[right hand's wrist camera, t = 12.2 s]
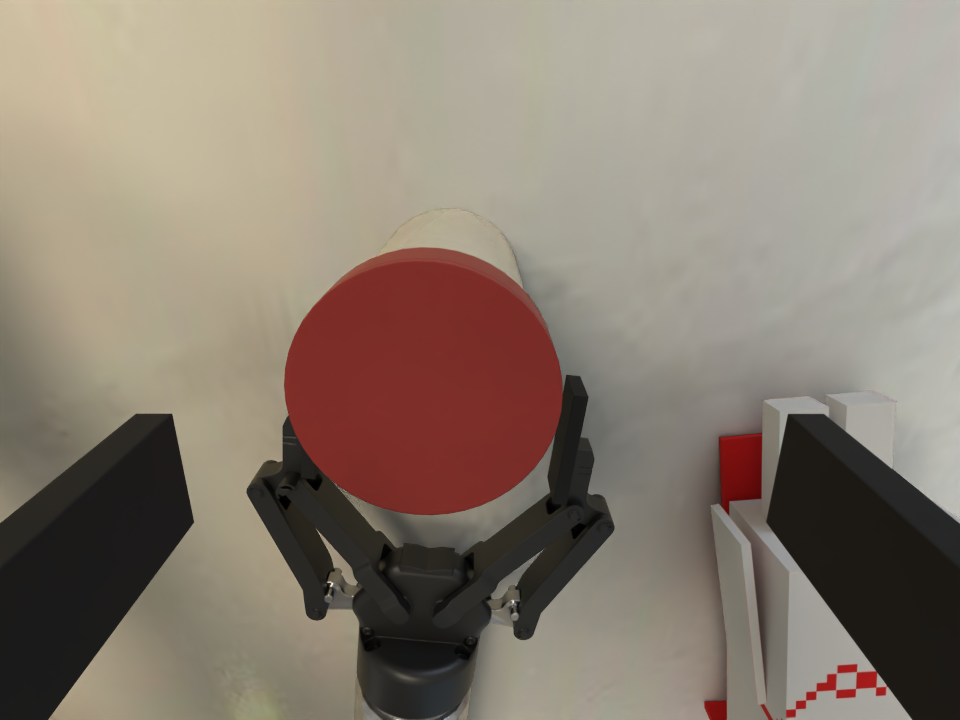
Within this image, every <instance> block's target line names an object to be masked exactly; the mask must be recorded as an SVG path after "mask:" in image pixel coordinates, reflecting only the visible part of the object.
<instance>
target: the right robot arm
mask: <svg viewBox="0 0 960 720" xmlns="http://www.w3.org/2000/svg"><path fill="white" fill-rule="evenodd" d="M193 523H194V520H193V515H192V510H191V505H190V500H189V495H188V490H187V485H186V480H185V475H184V470H183V465H182V460H181V455H180V451H179V446H178V441H177V436H176V431H175V426H174V421H173V416H172V414H135V415H134V416H133V417H132V418H130V419H129V420H128V421H127V422H125V423H124V424H123V425H122V426H120V427H119V428H118V429H117V430H115V431H114V432H113V433H112V434H110V435H109V436H108V437H107V438H106V439H104V440H103V441H102V442H101V443H99V444H98V445H97V446H96V447H94V448H93V449H92V450H91V451H89V452H88V453H87V454H86V455H84V456H83V457H82V458H81V459H79V460H78V461H77V462H76V463H75V464H73V465H72V466H71V467H70V468H68V469H67V470H66V471H65V472H63V473H62V474H61V475H60V476H58V477H57V478H56V479H55V480H53V481H52V482H51V483H50V484H49V485H47V486H46V487H45V488H44V489H42V490H41V491H40V492H39V493H37V494H36V495H35V496H34V497H32V498H31V499H30V500H29V501H27V502H26V503H25V504H24V505H22V506H21V507H20V508H19V509H18V510H16V511H15V512H14V513H13V514H11V515H10V516H9V517H8V518H6V519H5V520H4V521H3V522H1V523H0V720H48V719H49V718H50V716H51V715H52V713H53V712H54V711H55V709H56V708H57V707H58V705H59V704H60V703H61V701H62V700H63V699H64V697H65V696H66V695H67V693H68V692H69V691H70V689H71V688H72V686H73V685H74V684H75V682H76V681H77V680H78V678H79V677H80V676H81V674H82V673H83V672H84V670H85V669H86V668H87V666H88V665H89V664H90V662H91V661H92V659H93V658H94V657H95V655H96V654H97V653H98V651H99V650H100V649H101V647H102V646H103V645H104V643H105V642H106V641H107V639H108V638H109V637H110V635H111V634H112V632H113V631H114V630H115V628H116V627H117V626H118V624H119V623H120V622H121V620H122V619H123V618H124V616H125V615H126V614H127V612H128V611H129V610H130V608H131V607H132V605H133V604H134V603H135V601H136V600H137V599H138V597H139V596H140V595H141V593H142V592H143V591H144V589H145V588H146V587H147V585H148V584H149V583H150V581H151V580H152V578H153V577H154V576H155V574H156V573H157V572H158V570H159V569H160V568H161V566H162V565H163V564H164V562H165V561H166V560H167V558H168V557H169V555H170V554H171V553H172V551H173V550H174V549H175V547H176V546H177V545H178V543H179V542H180V541H181V539H182V538H183V537H184V535H185V534H186V533H187V531H188V530H189V528H190V527H191V526H192V524H193ZM766 523H767V524H768V526H769V527H770V528H771V530H772V531H773V533H774V534H775V535H776V537H777V538H778V539H779V541H780V542H781V543H782V545H783V546H784V547H785V549H786V550H787V551H788V553H789V554H790V556H791V557H792V558H793V560H794V561H795V562H796V564H797V565H798V566H799V568H800V569H801V570H802V572H803V573H804V574H805V576H806V577H807V578H808V580H809V581H810V583H811V584H812V585H813V587H814V588H815V589H816V591H817V592H818V593H819V595H820V596H821V597H822V599H823V600H824V601H825V603H826V604H827V605H828V607H829V608H830V610H831V611H832V612H833V614H834V615H835V616H836V618H837V619H838V620H839V622H840V623H841V624H842V626H843V627H844V628H845V630H846V631H847V632H848V634H849V635H850V637H851V638H852V639H853V641H854V642H855V643H856V645H857V646H858V647H859V649H860V650H861V651H862V653H863V654H864V655H865V657H866V658H867V659H868V661H869V662H870V664H871V665H872V666H873V668H874V669H875V670H876V672H877V673H878V674H879V676H880V677H881V678H882V680H883V681H884V682H885V684H886V685H887V686H888V688H889V689H890V691H891V692H892V693H893V695H894V696H895V697H896V699H897V700H898V701H899V703H900V704H901V705H902V707H903V708H904V709H905V711H906V712H907V713H908V715H909V716H910V718H911V719H912V720H960V523H959V522H957V521H956V520H955V519H954V518H952V517H951V516H950V515H949V514H947V513H946V512H945V511H944V510H942V509H941V508H940V507H939V506H938V505H936V504H935V503H934V502H933V501H931V500H930V499H929V498H928V497H926V496H925V495H924V494H923V493H921V492H920V491H919V490H918V489H916V488H915V487H914V486H913V485H911V484H910V483H909V482H908V481H907V480H905V479H904V478H903V477H902V476H900V475H899V474H898V473H897V472H895V471H894V470H893V469H892V468H890V467H889V466H888V465H887V464H885V463H884V462H883V461H882V460H881V459H879V458H878V457H877V456H876V455H874V454H873V453H872V452H871V451H869V450H868V449H867V448H866V447H864V446H863V445H862V444H861V443H859V442H858V441H857V440H856V439H854V438H853V437H852V436H851V435H850V434H848V433H847V432H846V431H845V430H843V429H842V428H841V427H840V426H838V425H837V424H836V423H835V422H833V421H832V420H831V419H830V418H828V417H827V416H826V415H825V414H788V416H787V421H786V426H785V431H784V436H783V441H782V446H781V451H780V455H779V460H778V465H777V470H776V475H775V480H774V485H773V490H772V495H771V500H770V505H769V510H768V515H767V520H766Z"/></svg>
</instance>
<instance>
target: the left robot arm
mask: <svg viewBox="0 0 960 720" xmlns="http://www.w3.org/2000/svg"><path fill="white" fill-rule="evenodd" d="M587 402H588V395H587V392H586V390H585V387H584V385H583V382H582V380H581V377H580V376H572V375H566V380H565V386H564V391H563V398H562V408H561V414H560V418H559V422H558V427H557V429H556V434H555V439H554V445H553V450H552V455H551V461H550V466H549V471H548V482H549V487H550V493H549V494H547V495H546V496H545V497H543V498H542V499H541V500H540V501H538V502H537V503H536V504H534V505H533V506H532V507H530V508H529V509H528V510H526V511H525V512H524V513H522V514H521V515H520V516H519V517H517V518H516V519H515V520H513V521H512V522H511V523H509V524H508V525H507V526H505V527H504V528H503V529H501V530H500V531H499V532H498V533H496V534H495V535H494V536H492V537H491V538H490V539H488V540H487V541H486V542H482V541H479V542H478V543H476V544H475V545H474V546H472V547H471V548H470V549H468V550H467V551H466V552H464V553H463V554H462V555H460V554H458V553H455V552H454V550H455V548H447V547H438V548H426V547H423V546H420V545H417V544H407V543H404V546H403V547H401V548H397V549H396V548H395V547H394V545H393V544H392V543H391V542H390V541H389V540H388V539H387V537H386V536H385V535H384V534H383V533H382V532H381V531H375V530H374V529H373V528H372V527H371V526H370V524H369V523H368V522H367V521H366V520H365V519H364V518H363V516H362V515H361V514H360V513H359V512H358V511H357V510H356V508H355V507H354V506H353V505H352V504H351V503H350V502H349V500H348V499H347V498H346V497H345V496H344V495H343V493H342V492H341V491H340V490H339V489H338V488H337V487H336V485H335V484H334V483H333V482H332V481H331V480H330V479H329V477H327V476H326V475H325V474H324V473H323V472H322V471H321V470H320V469H319V468H318V467H317V465H316V464H315V463H314V462H313V461H312V460H311V458H310V457H309V455H308V454H307V453H306V451H305V450H304V448H303V447H302V445H301V443H300V441H299V439H298V437H297V436H296V434H295V431H294V428H293V426H292V423H291V421H290V418H289V415H288V417H287V418H286V420H285V423H284V425H283V461H282V462H276V461H273V460H269V461H266V462H264V464H263V465H262V467H261V468H260V469H259V471H258V473H257V474H256V476H255V477H254V479H253V480H252V482H251V483H250V485H249V486H248V488H247V495H248V497H249V499H250V500H251V502H252V504H253V506H254V507H255V509H256V511H257V512H258V514H259V516H260V518H261V519H262V521H263V523H264V524H265V526H266V528H267V529H268V531H269V533H270V535H271V536H272V538H273V540H274V541H275V543H276V545H277V547H278V548H279V550H280V552H281V553H282V555H283V557H284V559H285V560H286V562H287V564H288V565H289V567H290V569H291V571H292V572H293V574H294V576H295V577H296V579H297V581H298V582H299V584H300V586H301V588H302V589H303V594H304V602H305V610H306V614H307V616H308V617H309V618H310V619H312V620H322V619H323V618H324V617H325V616H326V613H327V610H328V609H353V611H354V613H355V615H356V616H357V618H358V621H359V639H358V656H357V678H356V687H355V711H354V720H467V715H468V708H469V702H470V695H471V687H472V681H473V676H474V670H475V663H476V657H477V651H478V644H479V638H480V634H481V632H482V630H483V629H484V628H485V627H486V626H487V625H488V624H489V623H495V624H500V625H506V626H511V627H513V629H514V635H515V637H516V638H518V639H520V640H527V639H529V638H531V637H532V636H533V634H534V631H535V628H536V625H537V622H538V620H539V617H540V614H541V612H542V611H543V610H544V609H545V608H546V607H547V606H548V605H549V603H550V602H551V601H552V600H553V599H554V598H555V597H556V596H557V594H558V593H559V592H560V591H561V590H562V589H563V588H564V587H565V585H566V584H567V583H568V582H569V581H570V580H571V579H572V578H573V576H574V575H575V574H576V573H577V572H578V571H579V570H580V569H581V568H582V566H583V565H584V564H585V563H586V562H587V561H588V560H589V559H590V557H591V556H592V555H593V554H594V553H595V552H596V551H597V550H598V548H599V547H600V546H601V545H602V544H603V543H604V542H605V541H606V539H607V538H608V537H609V536H610V535H611V534H612V533H613V531H614V523H613V520H612V517H611V514H610V512H609V509H608V506H607V503H606V500H605V498H604V497H603V496H602V495H599V494H594V495H590V494H588V493H587V491H588V487H589V482H590V477H591V473H592V468H593V463H594V456H593V451H592V448H591V446H590V443H589V440H588V438H580V436H581V431H582V426H583V421H584V416H585V412H586V407H587ZM316 529H317V530H318V531H319V532H320V533H321V534H322V535H323V536H324V537H325V538H326V540H327V541H328V542H329V543H330V544H331V545H332V546H333V547H334V548H335V549H336V551H337V552H338V553H339V554H340V555H341V556H342V557H343V558H344V559H345V560H346V561H347V563H348V564H349V565H350V566H351V567H352V569H353V574H354V577H355V579H356V580H357V582H358V584H357V585H356V586H352V585H349V584H348V583H347V582H346V581H345V579H344V577H343V576H342V575H341V574H342V571H341V569H339V568H334V567H333V562H332V559H331V556H330V554H329V552H328V550H327V548H326V546H325V544H324V543H323V541H322V539H321V537H320V535H319V533H318V532H317V530H316ZM544 548H545V549H544ZM543 549H544V550H543ZM541 550H543V551H542V552H541V554H540V555H539V556H538V557H537V558H536V559H535V561H534V562H533V563H532V564H531V565H530V566H529V568H528V569H527V570H526V571H525V573H524V574H523V575H522V577H521V579H520V580H519V582H518V585H517V586H515V585H512V586H510V587H509V588H508V591H507V592H506V593H505V594H504V596H503V597H502V598H500V599H496V600H494V599H491V596H490V594H491V593H493V592H494V590H495V589H496V587H497V584H498V583H499V582H500V581H501V580H502V579H503V578H505V577H506V576H507V575H509V574H510V573H512V572H513V571H514V570H516V569H517V568H518V567H520V566H521V565H522V564H524V563H525V562H526V561H528V560H529V559H531V558H532V557H533V556H535V555H536V554H537V553H539V552H540V551H541Z"/></svg>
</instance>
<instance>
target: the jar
mask: <svg viewBox="0 0 960 720" xmlns="http://www.w3.org/2000/svg"><path fill="white" fill-rule="evenodd" d="M418 247H431V248H443V249H449V250H455V251H459V252H462V253H466V254H469V255H472V256H475V257H477V258H479V259H481V260H484V261H486V262H488V263H490V264H492V265H493V266H495V267H496V268H498V269H500V270H501V271H503V272H504V273H506V274H507V275H508V276H509V277H510V278H512V279H513V280H514V281H515V282H516V283H518V284H519V286H520V287H521V288H522V289H523V290H524V288H523V284H522V281H521V277H520V273H519V270H518V266H517V263H516V259H515V256H514V253H513V251H512V249H511V247H510V245H509V243H508V242H507V240H506V239H505V237H504V236H503V235H502V233H501V232H500V231H499V230H498V229H497V228H496V227H495V226H493V225H492V224H491V223H490V222H488V221H487V220H485V219H484V218H482V217H480V216H478V215H476V214H474V213H470V212H467V211H464V210H458V209H437V210H432V211H428V212H425V213H423V214H420V215H418V216H416V217H414V218H412V219H411V220H409V221H408V222H406V223H405V224H404V225H403V226H402V227H401V228H400V229H399V230H398V231H397V232H396V233H395V234H394V235H393V236H392V237H391V239H390V240H389V241H388V242H387V243H386V245H385V246H384V247H383V248H382V249H381V251H380V252H379V253H378V254H377V255H376V256H375V257H377V256H379V255H382V254H385V253H388V252H392V251H396V250H401V249H407V248H418Z"/></svg>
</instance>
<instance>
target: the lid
mask: <svg viewBox="0 0 960 720" xmlns="http://www.w3.org/2000/svg"><path fill="white" fill-rule="evenodd" d="M284 387H285V399H286V405H287V409H288V414H289V418H290V421H291V423H292V426H293V428H294V431H295V434H296V436H297V437H298V439H299V441H300V443H301V445H302V447H303V448H304V450H305V451H306V453H307V454H308V455H309V457H310V458H311V460H312V461H313V462H314V463H315V464H316V465H317V467H318V468H319V469H320V470H321V471H322V472H323V473H324V474H325V475H326V476H327V477H329V478H330V479H331V480H332V481H333V482H334V483H336V484H337V485H338V486H340V487H341V488H343V489H344V490H346V491H347V492H349V493H350V494H352V495H354V496H356V497H358V498H360V499H362V500H363V501H365V502H368V503H370V504H373V505H376V506H378V507H381V508H384V509H388V510H392V511H396V512H401V513H408V514H417V515H438V514H449V513H455V512H460V511H465V510H468V509H471V508H474V507H478V506H481V505H483V504H485V503H487V502H490V501H492V500H494V499H496V498H498V497H499V496H501V495H503V494H504V493H506V492H508V491H509V490H511V489H512V488H513V487H515V486H516V485H517V484H518V483H520V482H521V481H522V480H523V479H524V478H525V477H526V476H527V475H528V474H529V473H530V472H531V471H532V470H533V469H534V468H535V467H536V465H537V464H538V463H539V461H540V460H541V459H542V457H543V456H544V454H545V452H546V451H547V449H548V447H549V445H550V444H551V442H552V439H553V437H554V434H555V432H556V429H557V427H558V422H559V418H560V414H561V408H562V398H563V388H562V375H561V370H560V365H559V361H558V358H557V355H556V352H555V349H554V346H553V343H552V340H551V337H550V334H549V331H548V328H547V326H546V323H545V321H544V319H543V317H542V315H541V313H540V311H539V309H538V308H537V307H536V305H535V304H534V302H533V301H532V299H531V298H530V296H529V295H528V294H527V293H526V292H525V291H524V290H523V289H522V288H521V287H520V286H519V284H518V283H516V282H515V281H514V280H513V279H512V278H510V277H509V276H508V275H507V274H506V273H504V272H503V271H501V270H500V269H498V268H496V267H495V266H493V265H492V264H490V263H488V262H486V261H484V260H481V259H479V258H477V257H475V256H472V255H469V254H466V253H462V252H459V251H455V250H449V249H443V248H431V247H418V248H407V249H401V250H396V251H392V252H388V253H385V254H382V255H379V256H377V257H374V258H372V259H369V260H368V261H366V262H364V263H362V264H360V265H358V266H357V267H355V268H354V269H352V270H351V271H350V272H348V273H347V274H346V275H344V276H343V277H342V278H341V279H340V280H339V281H338V282H337V283H336V284H335V285H334V286H333V287H332V288H331V289H330V290H329V291H328V292H327V293H326V294H325V295H324V296H323V297H322V298H321V299H320V300H319V301H318V302H317V303H316V304H315V305H314V306H313V308H312V309H311V310H310V312H309V313H308V314H307V316H306V317H305V318H304V320H303V321H302V323H301V325H300V327H299V328H298V330H297V332H296V334H295V336H294V339H293V341H292V344H291V347H290V350H289V353H288V357H287V362H286V367H285V382H284Z"/></svg>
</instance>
